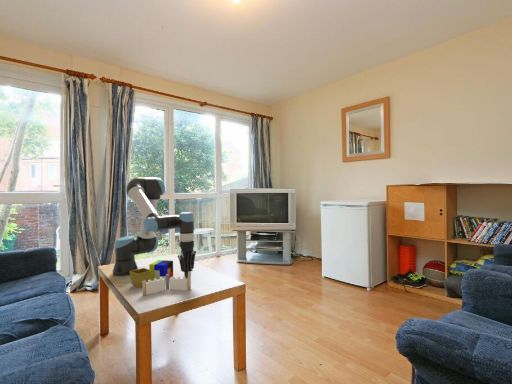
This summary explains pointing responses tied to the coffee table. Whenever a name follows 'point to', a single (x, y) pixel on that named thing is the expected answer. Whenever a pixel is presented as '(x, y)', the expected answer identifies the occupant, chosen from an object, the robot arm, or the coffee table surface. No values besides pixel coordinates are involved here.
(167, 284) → the fence fixed
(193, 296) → the coffee table surface
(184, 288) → the fence wing
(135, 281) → the flower pot
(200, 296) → the coffee table surface
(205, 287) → the coffee table surface
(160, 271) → the puzzle toy
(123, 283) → the coffee table surface
